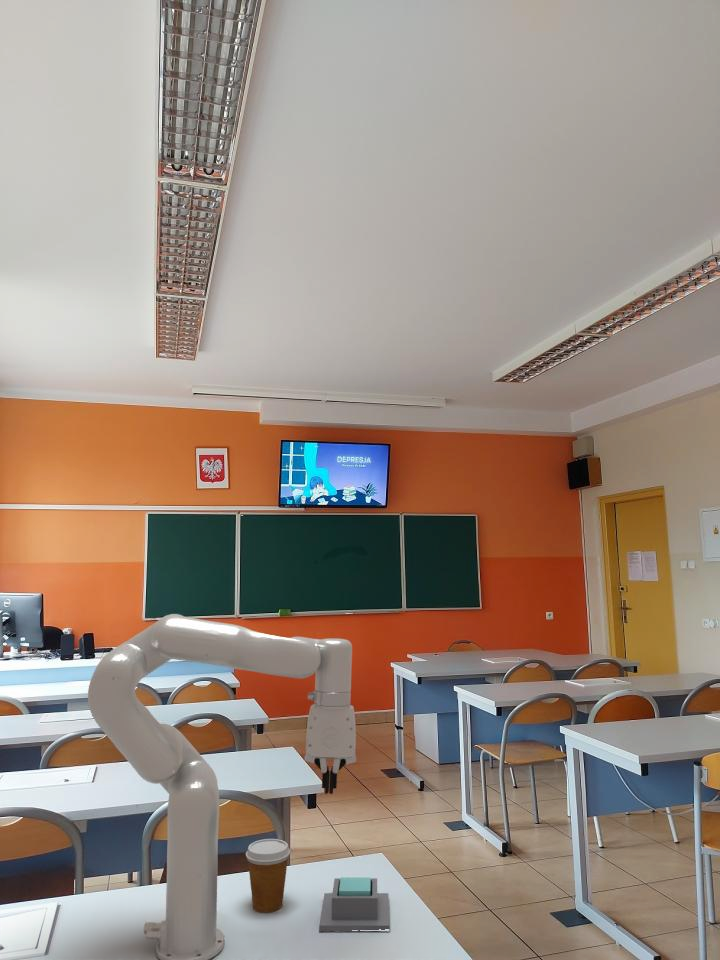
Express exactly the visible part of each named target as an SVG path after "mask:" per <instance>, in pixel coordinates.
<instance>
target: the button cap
mask: <svg viewBox="0 0 720 960" xmlns="http://www.w3.org/2000/svg"><path fill="white" fill-rule="evenodd" d="M340 878H341V879H340V887H339V896H371V877H340Z"/></svg>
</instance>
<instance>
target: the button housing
mask: <svg viewBox="0 0 720 960" xmlns="http://www.w3.org/2000/svg"><path fill="white" fill-rule="evenodd" d="M341 878H342V877H340V878H338V877H337V878H336V877H335V878H334V881H333V887H332V893H331V892H330V893H329V892H327V893H326V892H325V893H324V892H323V893H324V894H323V899H322V906H321V910H320V911H321V912H320V918H319V924H318V932H319V933H322V932H321V931H326V932H325V933H329V932H328V931H352V930H358V931H360V930H379V929H381V930H385V929H391V928H390V927H391V926H390V904H389V903H390V902H389V900H390V899H389V893H387V892H386V893H385V892H378V878H374V877H373V878H371V896H339V887H340V879H341Z"/></svg>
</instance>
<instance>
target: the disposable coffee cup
mask: <svg viewBox="0 0 720 960" xmlns="http://www.w3.org/2000/svg"><path fill="white" fill-rule="evenodd" d="M290 854H291V850H290V848H289V844H288V843H287V842H286V841H284V840H283V839H282V840H281V839H278V838H264V839H259V840H256V841H254V842H252V843H250V844H249V845H248V848H247V851H246V852H245V856H246V860H247V861H248V873H249V880H250V881H249V882H250V891H251V892H250V893H251V903H252V908H253V910H254V911H257V912H259V913H267V914H268V913H273V912H276V911H278V910H280V909H281V908H282V907H283V903H284V896H285V895H284V893H285V887H286V886H285V885H286V877H287V869H288V868H287V867H288V860H289V857H290Z"/></svg>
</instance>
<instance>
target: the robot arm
mask: <svg viewBox="0 0 720 960" xmlns="http://www.w3.org/2000/svg"><path fill="white" fill-rule="evenodd" d="M171 660H177V661H183V662H184V661H185V662H192V663H199V664H200V663H201V664H205V665H211V666H219V667H226V668H231V669H234V670H241V671H243V670H244V671H250V672H255V673H258V674H259V673H260V674H265V675H272V676H277V677H278V676H279V677H284V678H285V677H286V678H293V679H306V678H309V677H311V676H313V675H314V674H315V678H314V679H315V680H314V683H315V684H314V691H312V692H308V693H307V700H311V701H313V702H314V703H313V704H312V705H310V707H309V713H308V719H307V725H306V726H307V727H306V736H305V737H306V739H305V754H304V761H305V762H307V763H311V764H314V765H316V767H317V768H318V769H319V770H320V771H321V773H322V776H321V777H322V778H321V780H322V781H321V789H324V794H325V795H329V794H330V795H333V793H334V789H337V787H338V786H337V784H338V783H337V782H338V772H339V771H340V770H341V769H342V768H343V767H344V766H345V765H349V764H353V763H356V762H357V756H356V746H357V745H356V743H357V742H356V737H357V735H356V733H357V732H356V731H357V729H356V715H355V708H354V705H351V698H352V697H351V696H352V695H351V692H352V691H351V690H352V664H353V644H352V643H351V641H350V640H348V639H346V638H345V639H344V638H331V637H330V638H322V639H321V638H320V639H319V638H310V637H305V636H292V637H286V636H285V637H284V636H279V635H278V636H277V635H272V634H266V633H263V632H260V631H259V632H258V631H255V630H251V629H250V628H247V627H244V626H241V625H239V624H238V625H237V624H233V623H227V622H220V621H219V622H218V621H212V620H205V619H199V618H194V617H187V616H184V615H182V614H179V613H171V614H167V615H165V616H163V617H161V618H160V619H158V620H157V621H156V622H154V623H153V624H151V625H150V626H148V627H146V628H145V629H144V630H142V631H141V632H138V633H137V634H136V635H134V636H132V637H131V638H129V639H128V640H126V641H125V642H123V643H122V644H120V645H118V646H116V647H115V648H113V649H112V650H111V651H109V652H107V653H106V654H105V655H104V656H103V657H102V658H101V659H100V661H99V663H98V664H97V665H96V667H95V669H94V671H93V674H92V676H91V678H90V680H89V685H88V690H87V700H88V701H87V702H88V707H89V711H90V713H91V715H92V718H93V720H94V721H95V723H96V724H97V725H98V727H99V728H100V729H101V731H103V733H104V734H105V735H106V736H107V738H108V739H109V740H110V741H111V742H112V744H113V745H114V746H115V748H116V749H117V750H118V752H120V754H122V756H123V757H124V758H125V759H126V761H127V762H128V763H129V764H130V765H131V767H132V768H133V769H134V770H135V772H136V773H137V774H138V776H140V777H141V778H142V779H143V780H144V781H145V782H147V783H150V784H154V785H157V784H158V785H159V784H160V785H161V787H162V788H163V789H164V790H165V792H167V793H168V800H167V803H168V804H167V846H166V847H167V848H166V849H167V851H166V852H167V853H166V892H165V894H166V895H165V897H166V899H165V901H166V902H165V920H161V921H160V922H156V921H155V922H154V921H153V922H145V923H144V925H143V926H144V927H143V934H144V935H145V940H157V943H156V946H155V947H156V948H155V950H156V951H155V953H156V956H157V958H158V959H159V960H211V959H212V958H214V957H215V956H217V955H218V954H220V952H221V951H222V950H223V948H224V946H225V935H224V932H222V930H220V929H219V928H217V920H218V919H217V915H218V913H217V912H218V911H217V909H218V905H217V903H218V864H219V863H218V848H219V846H218V844H219V839H218V837H219V819H220V818H219V817H220V793H219V785H218V779H217V776H216V773H215V771H214V769H213V767H211V765H210V764H209V763H208V761H206V759H204V757H203V756H202V754H200V753H199V751H198V750H197V749H196V748H195V747H194V745H192V744H191V742H190V741H189V740H188V739H187V738H186V737H185V735H184V734H183V733H182V732H181V731H180V730H178V729H177V727H174V726H173V725H171V724H169V723H160V722H159V721H158V719H156V717H154V715H153V714H152V712H151V711H150V710H149V709H148V708H147V707H146V705H145V704H143V703H142V702H141V701H140V699H139V698H138V696H137V695H136V688H137V686H138V684H139V683H140V682H141V680H142V679H144V678H145V677H147V676H148V675H150V674H151V673H153V672H154V671H156V670H157V669H159V668H160V667H162V666H163V665H166V663H168V662H169V661H171ZM328 759H333V764H332V766H331V769H330V767H329V766H328ZM329 769H330V770H329Z"/></svg>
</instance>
